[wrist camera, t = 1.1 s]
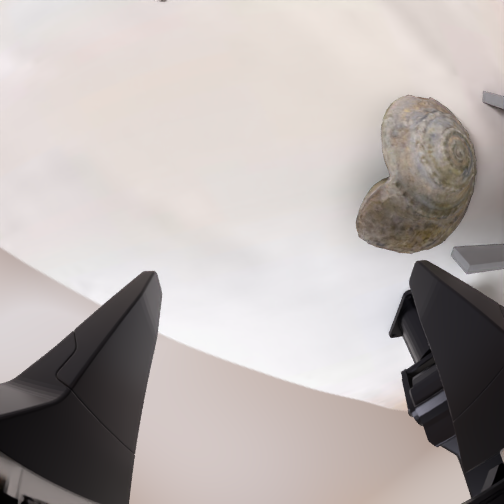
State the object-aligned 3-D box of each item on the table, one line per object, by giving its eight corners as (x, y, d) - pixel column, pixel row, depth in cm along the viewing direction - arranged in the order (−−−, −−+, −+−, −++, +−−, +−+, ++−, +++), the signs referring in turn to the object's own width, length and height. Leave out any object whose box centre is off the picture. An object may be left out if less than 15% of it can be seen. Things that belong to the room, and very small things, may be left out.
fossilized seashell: (486, 191, 19) (514, 235, 13) (386, 237, 25) (386, 288, 20) (431, 74, 16) (457, 79, 10) (323, 136, 22) (306, 163, 17)
